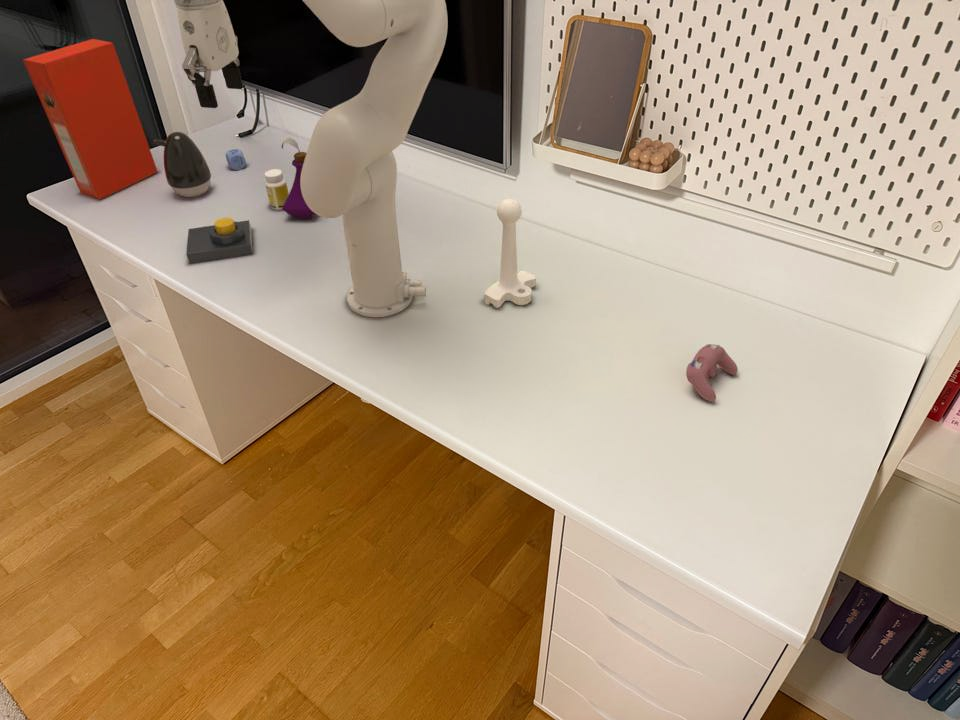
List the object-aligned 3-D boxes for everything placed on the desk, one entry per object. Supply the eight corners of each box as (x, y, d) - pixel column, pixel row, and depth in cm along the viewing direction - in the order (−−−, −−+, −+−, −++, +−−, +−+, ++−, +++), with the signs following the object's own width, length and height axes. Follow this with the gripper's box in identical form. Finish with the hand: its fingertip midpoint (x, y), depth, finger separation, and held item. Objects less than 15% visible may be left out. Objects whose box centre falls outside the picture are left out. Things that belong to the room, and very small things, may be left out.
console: (251, 229, 156) (246, 211, 153) (252, 254, 148) (248, 236, 145) (191, 238, 154) (185, 220, 151) (189, 264, 146) (183, 245, 143)
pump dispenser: (169, 188, 173) (149, 129, 163) (211, 179, 176) (194, 121, 167) (173, 205, 166) (153, 144, 156) (218, 196, 169) (200, 136, 159)
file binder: (79, 193, 172) (22, 58, 152) (137, 166, 183) (91, 38, 163) (100, 200, 169) (44, 64, 148) (158, 173, 180) (113, 42, 160)
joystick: (519, 277, 139) (521, 185, 126) (548, 292, 135) (552, 199, 122) (480, 300, 134) (478, 206, 121) (508, 317, 129) (509, 221, 116)
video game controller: (715, 371, 119) (705, 335, 116) (740, 372, 115) (730, 335, 113) (689, 402, 113) (677, 366, 110) (715, 404, 110) (703, 366, 107)
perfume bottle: (325, 207, 164) (311, 133, 152) (316, 222, 158) (301, 147, 147) (294, 206, 165) (278, 132, 153) (284, 221, 159) (267, 146, 147)
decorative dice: (231, 171, 180) (227, 156, 178) (228, 165, 183) (224, 151, 180) (247, 167, 182) (243, 153, 179) (243, 162, 184) (239, 147, 182)
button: (235, 224, 150) (233, 216, 149) (236, 233, 147) (233, 225, 146) (216, 227, 149) (214, 219, 148) (216, 236, 146) (214, 228, 145)
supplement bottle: (293, 201, 167) (286, 168, 161) (287, 210, 163) (280, 177, 158) (274, 200, 167) (266, 168, 162) (267, 210, 163) (259, 176, 158)
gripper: (190, 9, 109) (218, 116, 120) (241, -17, 122) (262, 82, 133) (147, 7, 110) (179, 113, 121) (202, -18, 123) (226, 80, 134)
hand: (222, 97), depth 127 cm, fingers open, 9 cm apart
